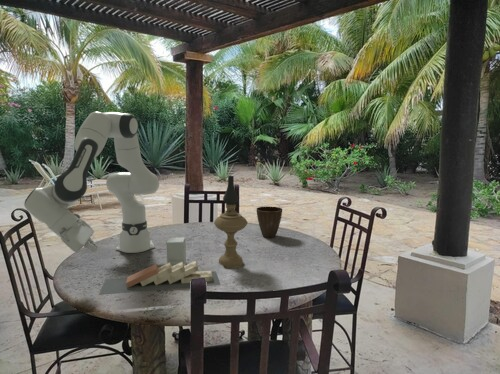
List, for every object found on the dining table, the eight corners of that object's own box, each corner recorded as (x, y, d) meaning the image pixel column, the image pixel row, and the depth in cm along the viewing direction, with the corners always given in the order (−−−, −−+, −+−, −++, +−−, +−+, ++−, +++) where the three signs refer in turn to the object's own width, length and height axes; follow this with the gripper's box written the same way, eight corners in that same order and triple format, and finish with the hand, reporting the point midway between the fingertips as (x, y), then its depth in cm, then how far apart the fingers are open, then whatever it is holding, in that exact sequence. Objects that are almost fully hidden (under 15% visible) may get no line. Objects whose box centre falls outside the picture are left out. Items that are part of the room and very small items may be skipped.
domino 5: (180, 272, 146) (210, 270, 149) (181, 277, 147) (210, 275, 149) (181, 278, 140) (212, 276, 143) (181, 283, 141) (212, 281, 143)
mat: (105, 281, 144) (105, 279, 144) (215, 273, 154) (215, 271, 154) (98, 296, 131) (98, 294, 131) (220, 286, 140) (220, 284, 140)
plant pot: (251, 234, 213) (252, 207, 211) (274, 231, 220) (274, 205, 217) (263, 241, 200) (263, 212, 198) (286, 237, 206) (287, 210, 204)
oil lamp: (217, 271, 156) (216, 178, 150) (211, 259, 170) (210, 174, 164) (251, 267, 160) (252, 177, 154) (242, 256, 174) (243, 173, 168)
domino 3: (154, 275, 144) (182, 261, 146) (156, 279, 144) (184, 265, 146) (153, 281, 138) (182, 267, 140) (155, 285, 139) (184, 271, 140)
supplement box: (186, 264, 164) (186, 237, 162) (184, 270, 156) (183, 242, 154) (170, 264, 163) (169, 237, 162) (166, 270, 156) (166, 242, 154)
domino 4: (167, 273, 145) (195, 260, 147) (169, 278, 146) (197, 264, 147) (167, 279, 139) (196, 265, 141) (170, 284, 140) (198, 270, 141)
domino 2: (141, 275, 143) (169, 262, 145) (143, 280, 143) (171, 266, 145) (140, 282, 137) (169, 267, 139) (142, 286, 138) (171, 272, 139)
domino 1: (127, 277, 142) (156, 263, 144) (130, 281, 142) (158, 267, 144) (125, 283, 136) (155, 268, 138) (128, 287, 137) (158, 273, 138)
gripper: (64, 226, 121) (97, 252, 125) (79, 213, 141) (106, 236, 145) (50, 239, 121) (83, 265, 125) (67, 224, 141) (95, 247, 144)
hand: (96, 249), depth 135 cm, fingers closed
